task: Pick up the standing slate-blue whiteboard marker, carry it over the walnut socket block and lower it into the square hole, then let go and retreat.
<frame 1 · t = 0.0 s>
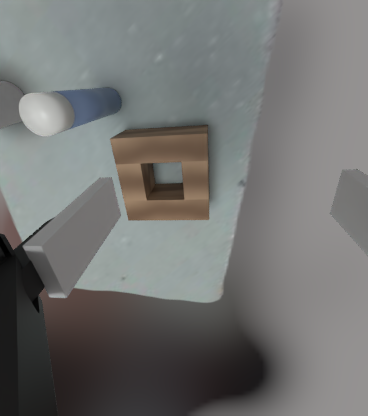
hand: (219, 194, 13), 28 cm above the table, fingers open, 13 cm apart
coffee cup: (11, 102, 40), on the table
marker: (109, 101, 38), on the table
socket block: (169, 167, 43), on the table
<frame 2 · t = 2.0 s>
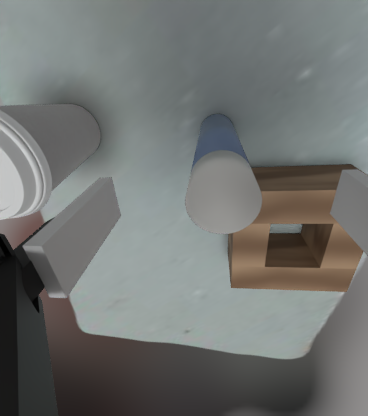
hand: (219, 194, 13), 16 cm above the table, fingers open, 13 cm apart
coffee cup: (77, 130, 29), on the table
marker: (216, 131, 27), on the table
socket block: (280, 215, 32), on the table
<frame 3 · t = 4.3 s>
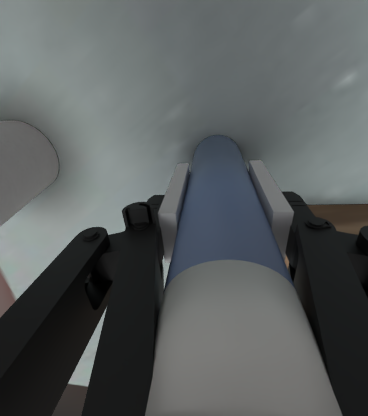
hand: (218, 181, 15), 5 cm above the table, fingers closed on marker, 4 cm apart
coffee cup: (27, 155, 22), on the table
marker: (216, 158, 20), on the table, touching gripper
socket block: (301, 263, 24), on the table
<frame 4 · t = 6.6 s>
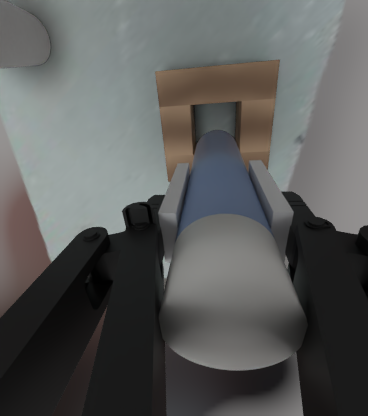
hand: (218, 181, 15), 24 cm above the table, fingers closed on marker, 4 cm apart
coffee cup: (30, 39, 33), on the table
marker: (216, 151, 22), point 17 cm above the table, touching gripper
socket block: (215, 121, 36), on the table
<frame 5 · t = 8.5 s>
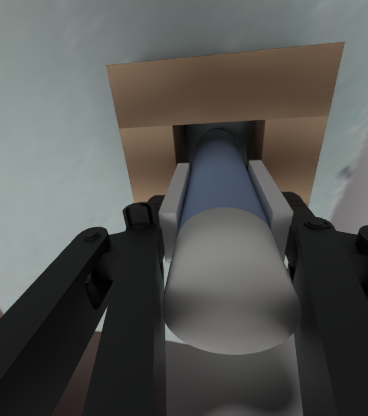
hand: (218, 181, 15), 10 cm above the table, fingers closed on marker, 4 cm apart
marker: (216, 150, 22), point 2 cm above the table, touching gripper
socket block: (216, 144, 24), on the table
when the fingers open (8 cm above the table, at t = 9.4 s): marker stays where it is, resting in socket block.
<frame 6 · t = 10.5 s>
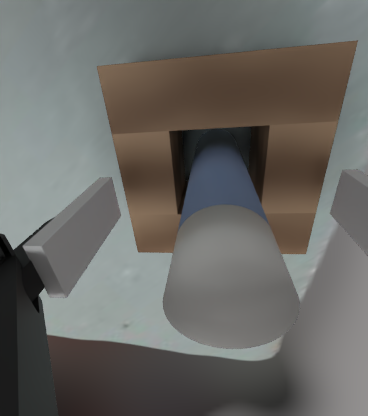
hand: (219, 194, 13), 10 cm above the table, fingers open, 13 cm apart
marker: (216, 149, 22), resting in socket block
socket block: (216, 149, 22), on the table
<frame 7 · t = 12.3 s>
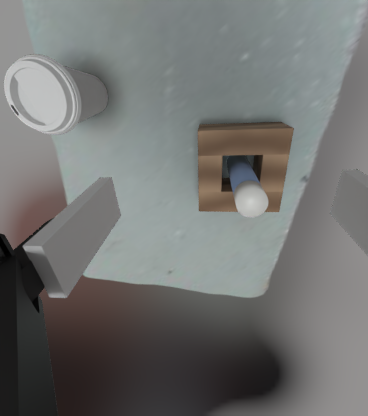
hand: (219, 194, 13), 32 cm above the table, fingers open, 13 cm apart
coffee cup: (91, 94, 41), on the table
marker: (236, 162, 44), resting in socket block
socket block: (236, 162, 44), on the table
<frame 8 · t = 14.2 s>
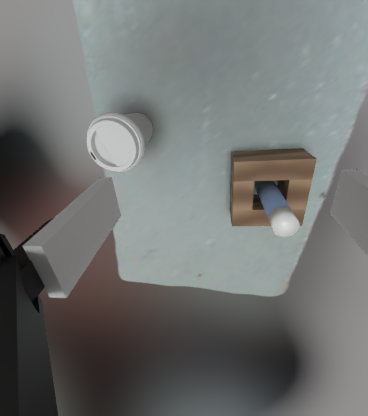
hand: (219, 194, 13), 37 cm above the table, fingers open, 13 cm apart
coffee cup: (138, 128, 48), on the table
marker: (263, 182, 51), resting in socket block
socket block: (263, 181, 51), on the table
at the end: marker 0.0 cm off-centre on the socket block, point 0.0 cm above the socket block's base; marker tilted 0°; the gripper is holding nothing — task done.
